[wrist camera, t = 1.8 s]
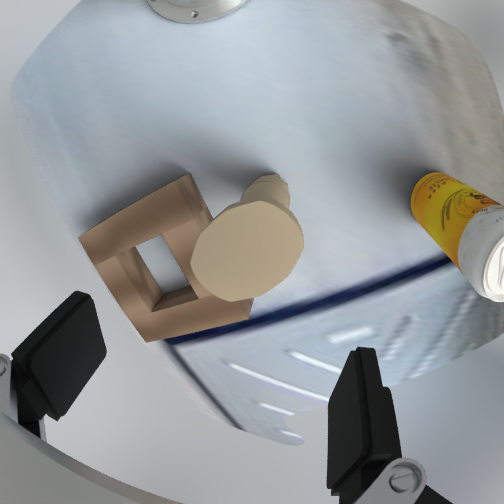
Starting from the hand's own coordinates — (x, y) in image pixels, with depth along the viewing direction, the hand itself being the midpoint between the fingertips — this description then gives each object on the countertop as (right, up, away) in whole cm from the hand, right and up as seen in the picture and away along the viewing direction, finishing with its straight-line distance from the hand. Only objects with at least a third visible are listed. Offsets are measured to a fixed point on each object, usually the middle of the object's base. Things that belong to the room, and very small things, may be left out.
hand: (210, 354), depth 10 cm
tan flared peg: (+3, +10, +19) cm, 22 cm away
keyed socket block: (-8, +2, +25) cm, 26 cm away
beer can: (+20, +9, +17) cm, 28 cm away
